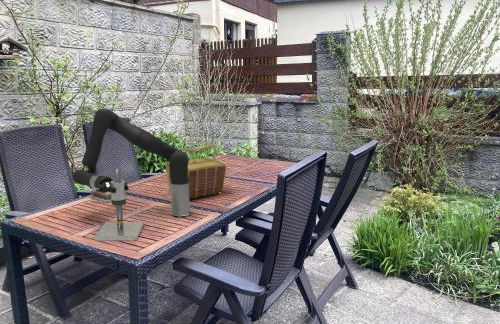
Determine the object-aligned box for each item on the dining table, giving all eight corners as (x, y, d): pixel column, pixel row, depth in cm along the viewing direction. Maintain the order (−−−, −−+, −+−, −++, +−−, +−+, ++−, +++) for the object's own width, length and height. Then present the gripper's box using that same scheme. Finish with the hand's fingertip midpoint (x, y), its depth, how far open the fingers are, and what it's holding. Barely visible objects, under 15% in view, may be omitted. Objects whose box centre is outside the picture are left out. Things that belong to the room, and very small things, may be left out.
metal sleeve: (126, 196, 192) (125, 180, 191) (123, 200, 187) (122, 183, 185) (113, 197, 192) (112, 180, 190) (110, 200, 186) (109, 183, 185)
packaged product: (87, 190, 248) (102, 187, 255) (88, 198, 248) (102, 194, 256) (105, 195, 237) (120, 192, 245) (106, 203, 238) (121, 200, 246)
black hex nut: (126, 201, 193) (126, 197, 192) (124, 205, 187) (123, 201, 187) (114, 201, 192) (113, 197, 192) (110, 205, 187) (110, 201, 186)
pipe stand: (144, 225, 202) (141, 165, 196) (136, 240, 184) (133, 173, 178) (105, 226, 201) (102, 165, 195) (94, 240, 183) (90, 173, 177)
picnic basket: (186, 204, 237) (185, 152, 231) (164, 194, 257) (163, 146, 251) (228, 195, 256) (228, 147, 250) (204, 186, 275) (204, 141, 269)
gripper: (86, 178, 191) (106, 184, 181) (114, 172, 202) (134, 178, 191) (87, 193, 193) (107, 201, 182) (115, 188, 204) (135, 194, 193)
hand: (121, 189), depth 187 cm, fingers closed on metal sleeve, 5 cm apart
